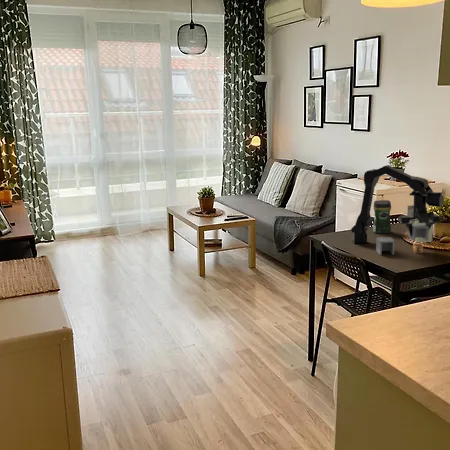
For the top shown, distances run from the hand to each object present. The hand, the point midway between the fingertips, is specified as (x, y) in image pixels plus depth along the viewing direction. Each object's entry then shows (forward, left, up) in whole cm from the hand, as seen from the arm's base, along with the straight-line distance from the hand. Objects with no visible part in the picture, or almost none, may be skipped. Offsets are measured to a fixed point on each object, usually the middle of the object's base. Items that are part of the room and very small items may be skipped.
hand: (418, 235), depth 252 cm
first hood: (-16, 0, -8) cm, 18 cm away
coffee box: (+8, +30, -8) cm, 32 cm away
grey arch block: (0, 0, -2) cm, 2 cm away
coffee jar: (-7, +39, -8) cm, 41 cm away
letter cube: (0, 0, -8) cm, 8 cm away
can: (+9, +18, -8) cm, 22 cm away
